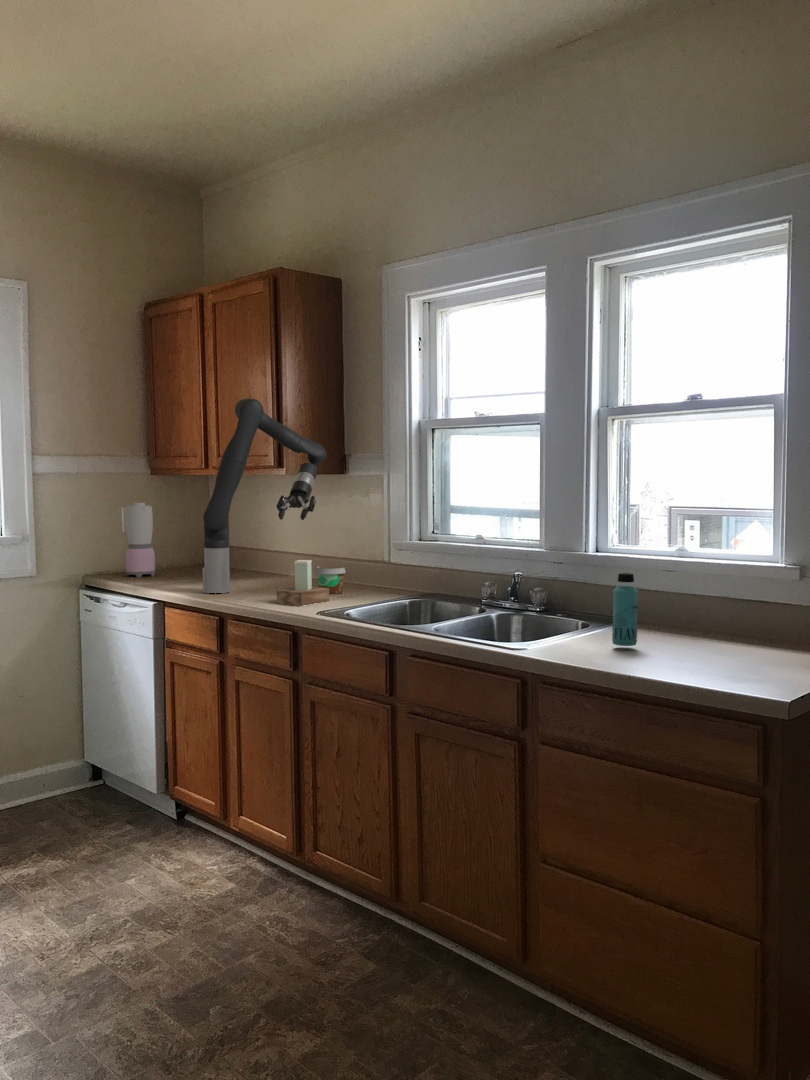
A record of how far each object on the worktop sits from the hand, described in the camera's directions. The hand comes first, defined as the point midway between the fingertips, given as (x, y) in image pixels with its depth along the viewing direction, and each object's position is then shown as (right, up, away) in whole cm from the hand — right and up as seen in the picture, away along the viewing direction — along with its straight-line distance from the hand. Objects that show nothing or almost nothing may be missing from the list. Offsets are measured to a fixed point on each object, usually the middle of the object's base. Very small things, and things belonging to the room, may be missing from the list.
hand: (291, 518), depth 328 cm
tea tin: (+6, -25, -16) cm, 31 cm away
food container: (+13, -29, +4) cm, 32 cm away
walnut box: (+6, -30, -15) cm, 35 cm away
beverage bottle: (+100, -37, -96) cm, 143 cm away
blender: (-75, -24, +63) cm, 101 cm away
